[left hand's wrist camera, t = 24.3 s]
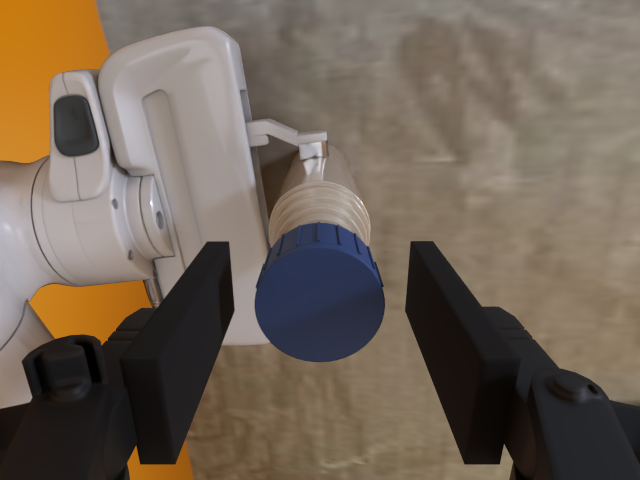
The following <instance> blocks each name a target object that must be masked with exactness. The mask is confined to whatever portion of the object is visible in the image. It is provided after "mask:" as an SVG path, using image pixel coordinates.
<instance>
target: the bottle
mask: <svg viewBox="0 0 640 480" xmlns="http://www.w3.org/2000/svg"><path fill="white" fill-rule="evenodd" d="M328 151H329V156H327V157H316V156H314V157H312V158H310V159H305V160H300V154H299V151H298V152H297V153H296V155H295V156H294V158H293V160H292V162H291V165H290V167H289V170H288V172H287V175H286V177H285V180H284V183H283V185H282V188H281V190H280V193H279V195H278V198H277V200H276V203H275V205H274V208H273V211H272V213H271V216H270V221H269V242H270V246H271V248H272V247H273V245H274V244H275V243H276V241H277V240H278V239H279V238H280V237H281V235H282V234H285V233H287V232H288V231H290V230H292V229H294V228H296V227H298V225H305V224H310V223H318V222H320V223H329V224H335V225H337V224H338V225H340V226H341V227H343V228H345V229H348V230H349V231H351V232H353V233H356V234H357V236H358V237H359V238H360V239H361V240H362V241H363V242H364V243H365V245H366V246H369V243H370V233H371V225H370V219H369V216H368V212H367V210H366V207H365V205H364V202H363V200H362V197H361V195H360V192H359V190H358V187H357V185H356V182H355V179H354V177H353V174H352V172H351V169H350V167H349V164H348V162H347V159H346V158H345V156H344V154H343V153H342V152H341V151H340V150H339V149H337V148H336V147H334V146H333V145H330V144H328Z"/></svg>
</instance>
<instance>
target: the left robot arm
mask: <svg viewBox="0 0 640 480" xmlns="http://www.w3.org/2000/svg"><path fill="white" fill-rule="evenodd" d="M234 312H235V307H234V295H233V283H232V270H231V258H230V246H229V241H207V242H206V244H205V245H204V246H203V248H202V249H201V250H200V252H199V253H198V254H197V256H196V257H195V258H194V260H193V261H192V262H191V264H190V265H189V266H188V268H187V269H186V270H185V272H184V273H183V274H182V276H181V277H180V278H179V280H178V281H177V282H176V284H175V285H174V286H173V288H172V289H171V290H170V292H169V293H168V294H167V296H166V297H165V298H164V300H163V301H162V302H161V304H160V305H159V306H158V308H141V309H139V310H138V311H136V312H134V313H133V314H131V315H129V316H128V317H126V318H125V319H124V321H123V322H122V323H121V324H120V325H119V326H118V327H117V329H116V331H114V332H113V333H112V334H111V336H110V337H109V338H108V341H105V343H104V344H103V345H102V346H101V342H100V340H98V339H97V338H96V337H94V336H89V335H70V336H66V337H62V338H58V339H54V340H52V341H50V342H47V343H45V344H42V345H40V346H39V347H37V348H36V349H34V350H32V351H31V352H29V353H28V354H27V355H26V357H25V358H24V359H23V360H22V365H23V368H24V371H25V375H26V378H27V381H28V385H29V388H30V391H31V395H32V399H31V401H30V402H28V403H25V404H20V405H16V406H11V407H6V408H1V409H0V480H130V477H129V470H128V466H127V462H128V460H129V458H130V456H131V454H132V452H133V450H134V448H135V446H136V445H137V450H138V455H139V460H140V464H176V461H177V459H178V456H179V453H180V451H181V448H182V446H183V443H184V441H185V438H186V435H187V433H188V430H189V428H190V425H191V422H192V420H193V417H194V415H195V412H196V410H197V407H198V404H199V402H200V399H201V397H202V394H203V392H204V389H205V386H206V384H207V381H208V379H209V376H210V373H211V371H212V368H213V366H214V363H215V361H216V358H217V355H218V353H219V350H220V348H221V345H222V342H223V340H224V337H225V335H226V332H227V330H228V327H229V324H230V322H231V319H232V317H233V314H234ZM405 312H406V314H407V317H408V319H409V322H410V324H411V327H412V330H413V332H414V335H415V337H416V340H417V342H418V345H419V348H420V350H421V353H422V355H423V358H424V361H425V363H426V366H427V368H428V371H429V373H430V376H431V379H432V381H433V384H434V386H435V389H436V392H437V394H438V397H439V399H440V402H441V404H442V407H443V410H444V412H445V415H446V417H447V420H448V422H449V425H450V428H451V430H452V433H453V435H454V438H455V441H456V443H457V446H458V448H459V451H460V453H461V456H462V459H463V461H464V464H500V460H501V455H502V450H503V445H504V444H505V446H506V448H507V450H508V452H509V454H510V456H511V458H512V460H513V465H512V470H511V475H510V479H509V480H640V407H638V406H633V405H628V404H624V403H619V402H615V401H611V400H609V398H608V396H607V395H606V394H605V393H604V391H603V390H602V389H601V387H599V386H598V385H597V384H595V383H594V382H592V381H591V380H590V379H588V378H586V377H584V376H582V375H579V374H577V373H575V372H571V371H568V370H564V369H559V367H558V366H557V365H556V364H555V363H554V362H553V360H552V359H551V358H550V357H549V356H548V355H547V354H546V352H545V351H544V350H543V349H542V348H541V347H540V345H539V344H538V343H537V342H536V341H535V340H533V339H532V336H531V335H530V334H529V333H528V332H527V330H524V327H523V326H522V325H521V323H520V322H519V321H518V320H517V319H516V318H515V316H513V315H511V314H510V313H508V312H506V311H505V310H503V309H502V308H500V307H482V306H481V305H480V304H479V302H478V301H477V300H476V298H475V297H474V296H473V294H472V293H471V292H470V290H469V289H468V288H467V286H466V285H465V284H464V282H463V281H462V280H461V278H460V277H459V276H458V274H457V273H456V272H455V270H454V269H453V268H452V266H451V265H450V264H449V262H448V261H447V260H446V258H445V257H444V256H443V254H442V253H441V252H440V250H439V249H438V248H437V246H436V245H435V244H434V242H433V241H411V246H410V258H409V270H408V283H407V295H406V307H405Z"/></svg>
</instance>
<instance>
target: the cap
mask: <svg viewBox="0 0 640 480" xmlns="http://www.w3.org/2000/svg"><path fill="white" fill-rule="evenodd" d="M382 287H384V286H383V283H382V280H381V277H380V274H379V271H378V267H377V264H376V262H374V261H373V258H372V255H371V251H370V248H369V246H366V245H365V243H364V242H363V241H362V240H361V239H360V238H359V237H358V236H357V234H356V233H353V232H351V231H349V230H348V229H345V228H343V227H341V226H340V225H338V224H337V225H335V224H329V223H320V222H318V223H310V224H305V225H298V227H296V228H294V229H292V230H290V231H288V232H287V233H285V234H282V235H281V237H280V238H279V239H278V240H277V241H276V243H275V244H274V245H273V247H272V248H271V247H270V248H269V251H268V254H267V257H266V260H265V264H264V263H263V266H262V269H261V272H260V275H259V278H258V281H257V284H256V289H257V290H256V294H255V314H256V318H257V321H258V324H259V326H260V328H261V330H262V332H263V333H264V335H265V336H266V338H267V339H268V340H269V341H270V342H271V343H272V344H273V345H274V346H275V347H276V348H278V349H279V350H281V351H282V352H284V353H286V354H287V355H289V356H292V357H294V358H297V359H301V360H304V361H311V362H329V361H334V360H339V359H342V358H345V357H347V356H350V355H352V354H354V353H355V352H357V351H359V350H360V349H361V348H363V347H364V346H365V345H366V344H367V343H368V342H369V341H370V340H371V339H372V338H373V337H374V335H375V334H376V332H377V331H378V329H379V327H380V325H381V322H382V319H383V315H384V309H385V299H384V293H383V289H382Z"/></svg>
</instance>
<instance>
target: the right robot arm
mask: <svg viewBox="0 0 640 480" xmlns="http://www.w3.org/2000/svg"><path fill="white" fill-rule="evenodd" d="M49 108H50V155H48V156H46V157H43V158H41V159H39V160H37V161H35V162H32V163H18V162H12V161H0V409H1V408H6V407H11V406H16V405H20V404H25V403H28V402H30V401H31V399H32V395H31V391H30V388H29V385H28V381H27V378H26V375H25V371H24V368H23V365H22V360H23V359H24V358H25V357H26V355H27V354H28V353H29V352H31V351H32V350H34V349H36V348H37V347H39V346H40V345H42V344H45V343H47V342H50V341H52V340H54V339H55V338H54V337H53V336H52V334H51V333H50V332H49V330H48V329H47V328H46V326H45V325H44V323H43V322H42V321H41V319H40V318H39V317H38V315H37V314H36V313H35V311H34V310H33V309H32V307H31V306H30V305H29V303H28V302H29V301H30V300H31V299H32V297H33V296H34V294H35V293H36V292H37V290H38V289H39V288H41V287H43V286H46V285H49V284H61V285H66V286H74V287H81V286H92V285H101V284H110V283H119V282H128V281H137V280H143V282H144V285H145V289H146V292H147V295H148V298H149V300H150V303H151V305H152V307H153V308H158V306H159V305H160V304H161V302H162V301H163V300H164V298H165V297H166V296H167V294H168V293H169V292H170V290H171V289H172V288H173V286H174V285H175V284H176V282H177V281H178V280H179V278H180V277H181V276H182V274H183V273H184V272H185V270H186V269H187V268H188V266H189V265H190V264H191V262H192V261H193V260H194V258H195V257H196V256H197V254H198V253H199V252H200V250H201V249H202V248H203V246H204V245H205V244H206V242H207V241H229V246H230V258H231V270H232V283H233V295H234V307H235V312H234V314H233V317H232V319H231V322H230V324H229V327H228V330H227V332H226V335H225V337H224V340H223V342H222V345H262V344H268V343H270V341H269V340H268V339H267V338H266V336H265V335H264V333H263V332H262V330H261V328H260V326H259V324H258V321H257V318H256V314H255V294H256V290H257V289H256V284H257V281H258V278H259V275H260V272H261V269H262V266H263V263H264V264H265V260H266V257H267V254H268V251H269V248H270V247H271V246H270V242H269V216H268V211H267V205H266V199H265V193H264V187H263V181H262V175H261V169H260V164H259V158H258V152H257V146H261V145H267V144H268V143H269V142H270V141H271V140H272V136H273V137H275V138H278V139H280V140H283V141H285V142H287V143H290V144H292V145H295V146H297V147H299V154H300V160H305V159H310V158H312V157H314V156H316V157H327V156H329V151H328V141H327V132H326V130H319V131H311V132H302V133H298V131H297V130H294V129H292V128H290V127H288V126H285V125H283V124H281V123H279V122H276V121H274V120H272V119H261V120H253V121H252V117H251V111H250V105H249V99H248V93H247V87H246V81H245V76H244V70H243V64H242V58H241V52H240V47H239V45H238V43H237V42H236V41H235V40H234V39H233V38H232V37H230V36H229V35H228V34H227V33H225V32H224V31H222V30H220V29H218V28H216V27H211V26H203V27H195V28H189V29H184V30H179V31H174V32H170V33H166V34H162V35H158V36H155V37H151V38H148V39H145V40H141V41H138V42H135V43H132V44H130V45H127V46H125V47H122V48H120V49H118V50H117V51H115V52H114V53H112V54H111V55H110V56H109V57H108V58H107V59H106V60H105V61H104V63H103V65H102V66H101V69H100V70H96V69H86V70H75V71H68V72H64V73H59V74H57V75H55V76H54V77H53V78H52V79H51V81H50V85H49ZM27 301H28V302H27Z"/></svg>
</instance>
